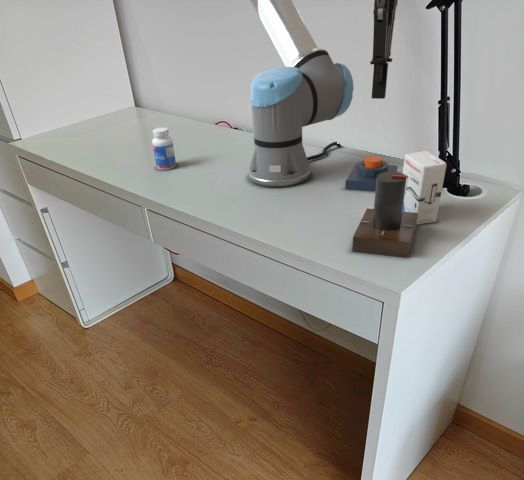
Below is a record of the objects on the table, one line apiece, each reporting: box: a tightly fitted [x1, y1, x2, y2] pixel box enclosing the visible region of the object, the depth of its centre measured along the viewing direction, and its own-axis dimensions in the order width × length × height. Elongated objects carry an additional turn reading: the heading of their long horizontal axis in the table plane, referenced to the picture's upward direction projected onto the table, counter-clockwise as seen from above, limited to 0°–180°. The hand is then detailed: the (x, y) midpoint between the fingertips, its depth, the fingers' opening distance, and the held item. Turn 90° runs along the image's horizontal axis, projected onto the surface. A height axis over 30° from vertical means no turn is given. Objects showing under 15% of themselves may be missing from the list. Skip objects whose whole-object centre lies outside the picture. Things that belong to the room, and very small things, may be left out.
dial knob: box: [373, 171, 407, 230], centre depth 91 cm, size 5×5×9 cm
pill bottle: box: [151, 127, 177, 171], centre depth 133 cm, size 6×5×10 cm
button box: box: [345, 160, 399, 193], centre depth 118 cm, size 12×10×4 cm
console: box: [351, 208, 418, 259], centre depth 95 cm, size 13×10×3 cm
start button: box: [364, 155, 383, 168], centre depth 116 cm, size 4×4×2 cm
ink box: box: [402, 150, 447, 226], centre depth 99 cm, size 9×5×12 cm, turn 13°
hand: (378, 97), depth 108 cm, fingers closed
